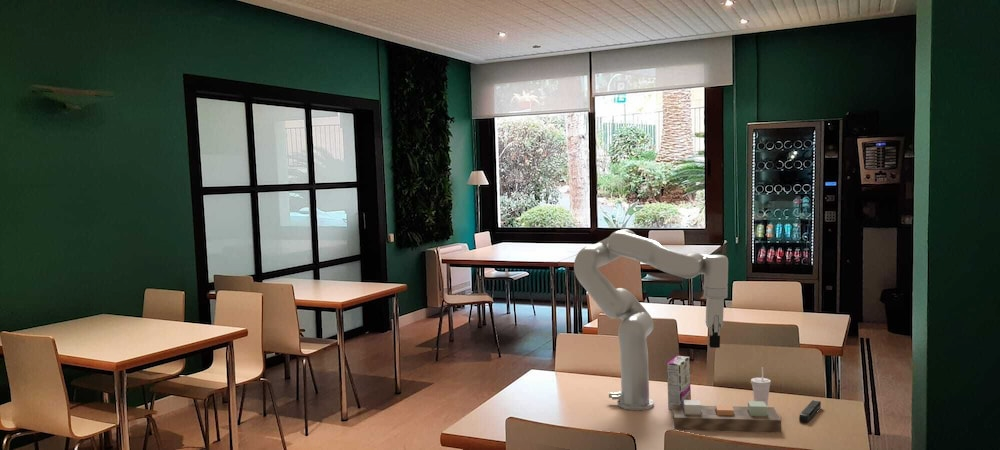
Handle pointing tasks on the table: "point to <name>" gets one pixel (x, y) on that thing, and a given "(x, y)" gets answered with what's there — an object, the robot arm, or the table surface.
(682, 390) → the candy bar box
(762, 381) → the smoothie
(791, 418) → the table surface
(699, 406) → the grey button
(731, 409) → the tan block
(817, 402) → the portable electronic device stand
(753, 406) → the sage button
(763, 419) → the console
